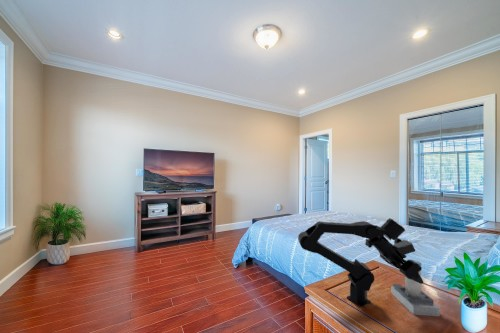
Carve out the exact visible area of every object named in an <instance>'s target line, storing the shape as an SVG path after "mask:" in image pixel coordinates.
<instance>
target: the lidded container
mask: <svg viewBox="0 0 500 333" xmlns="http://www.w3.org/2000/svg"><path fill="white" fill-rule="evenodd" d="M405 260H406V261H407V260H413V261H414V262H416V263H417V264H419V265H420V266H421V267H422V262H421V261H418V260H415V259H410V258H409V259H408V258H405ZM419 274H420V276H421V277H422V270H420V271H419ZM404 277H405V276H404ZM404 282H405V283H404V287H405V294H407V295H408V296H409V297H410V298H421V291H422V284H420V283H418V282H416V281H414V280H411V279H408V278H407V277H405V281H404Z"/></svg>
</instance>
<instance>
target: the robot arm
mask: <svg viewBox="0 0 500 333" xmlns="http://www.w3.org/2000/svg"><path fill="white" fill-rule="evenodd" d="M404 232H406V229H405V227H404V226H402V225H400V224H399V223H398V222H397V221H395V220H394V219H392V218H388V219H387V220H386V221H385V222H384V223H383V224H382V225H381V226H378V225H374V224H372V223H370V222H368V221H364V220H363V221H355V222H352V223H351V222H350V223H346V222H331V221H330V222H328V221H321V220H320V221H317V222H316V223H315V224H313V225H312V226H309V227H308V228H307V229H306V230H305V231H302V232H300V233H299V234H298V236H297V240H298V242H299V245H300V247H301V248H302V250H304V251H307V252H310V253H313V254H318V255H320V256H321V257H323V258H324V259H327V260H328V261H330V262H331V263H333V264H335V265H337V266H338V267H340V268H342V269H343V270H345V271H347V272H348V273H347V278H348V281H350V284H349V295H347V296H346V299H347V300H349V301H350V302H353V303H354V304H355V305H357V306H359V307H364V306H365V305H368V304H371V300H370V299H368V292H370V290H371V287H372V284H373V283H374V282H375V274H374V273H373V272H372V270H371V269H370V268H369V267H368V266H367V265H366V264H365V263H364V262H361V261H359V260H358V259H356V258H355V259H354V261H353V260H349V259H348V258H346V257H344V256H342V255H341V254H339V253H338V252H336V251H334V250H333V249H331V248H329V247H327V246H325V245H324V244H323V243H321V242H320V241H319V240H320V238H321V237H322V236H323V235H324V234H325V233H326V234H342V235H353V236H357V237H360V238H365V246H366V247H368V249H369V248H370V249H371V248H372V247H374V248H375V250H377V251H378V253H379V257H380V258H381V259H382V260H383V261H385V262H386V263H387V264H389V265H391V266H392V267H394V268H396V269H398V270H399V273H401V274H402V275H403V276H404V277H407V278H408V279H411V280H414V281H416V282H418V283H420V284H421V285H422V284H423V283H424V280H423V279H422V275H421V276H420V274H419V271H420V270H421V271H422V268H423V267H422V265H421V266H420V265H419V264H417V263H416V262H414V261H413V260H414V259H411V260H407V261H406V259H407V255H409V254H410V253H414V252H416V249H415V246H414V244H413V242H411V241H409V240H406V239H401V238H399V237H400V236H402V234H404ZM391 240H393V242H394V243H393V244H392V243H391Z"/></svg>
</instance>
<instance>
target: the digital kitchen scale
mask: <svg viewBox="0 0 500 333" xmlns="http://www.w3.org/2000/svg"><path fill="white" fill-rule="evenodd" d="M390 289H391V294H392V295H393V296H394V297H395V298H396V299H397V300H398V301H399V302H400V303H401V304H402V305H403V306H404V307H405V308H406V309H407V310H409V312H410V313H411V314H412V315H415V316H429V317H430V316H431V317H441V316H440V315H441V308H440V307H439V306H438V305H437V304H436V303H435V302H434V299H433V298H431V297H430V296H429V295H428V294H426V293H425V292H424V291H422V290H421V298H410V297H409V296H408V295H407V294H405V286H403V285H402V284H398V283H393V285H391V288H390Z"/></svg>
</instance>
